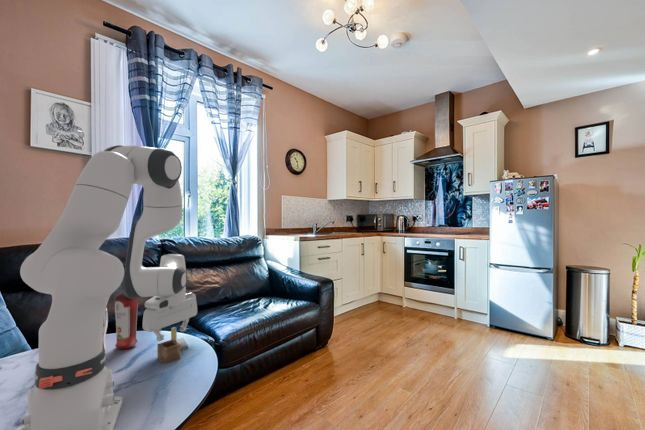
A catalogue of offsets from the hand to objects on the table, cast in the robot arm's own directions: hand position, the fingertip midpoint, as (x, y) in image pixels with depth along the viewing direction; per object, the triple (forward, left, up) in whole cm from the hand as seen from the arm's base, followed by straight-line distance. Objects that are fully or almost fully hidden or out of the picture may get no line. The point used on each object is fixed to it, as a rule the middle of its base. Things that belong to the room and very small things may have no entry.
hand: (172, 335), depth 106 cm
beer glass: (+13, +22, -5) cm, 26 cm away
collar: (-9, +2, -5) cm, 10 cm away
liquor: (+11, +13, -5) cm, 18 cm away
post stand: (0, -1, -5) cm, 5 cm away
